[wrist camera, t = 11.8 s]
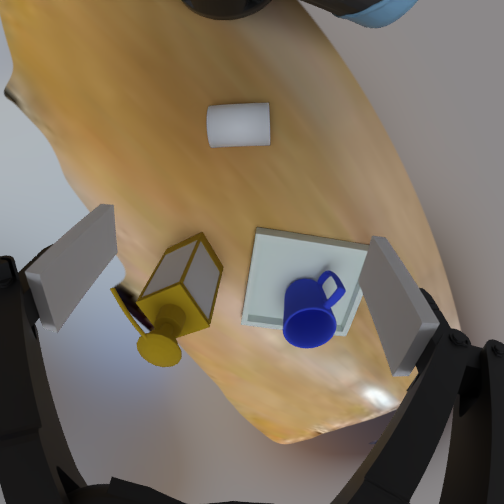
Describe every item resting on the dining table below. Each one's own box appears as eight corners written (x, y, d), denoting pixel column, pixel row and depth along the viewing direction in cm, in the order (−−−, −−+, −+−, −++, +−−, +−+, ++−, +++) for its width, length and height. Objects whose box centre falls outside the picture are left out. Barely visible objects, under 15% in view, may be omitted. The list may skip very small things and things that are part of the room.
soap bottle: (185, 203, 49) (130, 284, 28) (223, 267, 54) (199, 372, 33) (150, 221, 51) (83, 306, 30) (188, 281, 56) (151, 383, 35)
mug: (350, 270, 53) (364, 305, 44) (307, 317, 58) (313, 355, 49) (313, 246, 51) (323, 279, 42) (271, 297, 56) (272, 335, 47)
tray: (256, 226, 50) (256, 233, 48) (373, 245, 51) (377, 252, 49) (241, 315, 59) (241, 324, 56) (343, 327, 59) (345, 336, 57)
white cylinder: (268, 93, 38) (208, 97, 39) (270, 128, 37) (205, 131, 37) (269, 120, 44) (215, 122, 44) (270, 153, 43) (213, 155, 43)
